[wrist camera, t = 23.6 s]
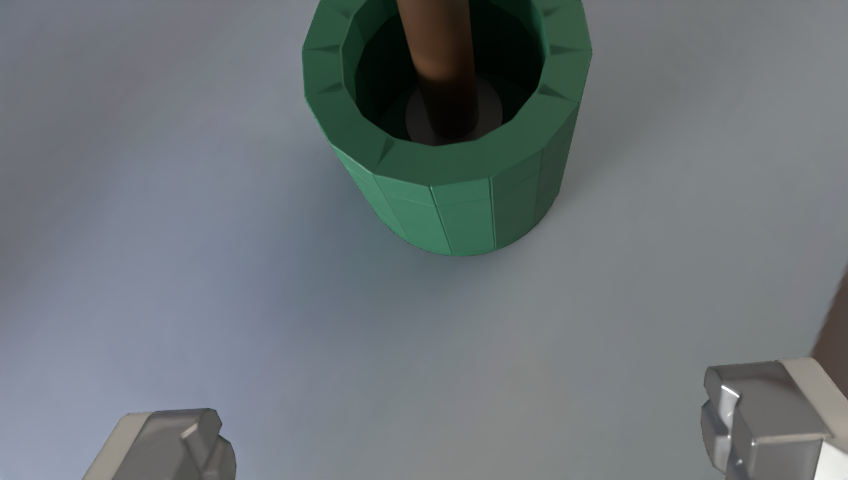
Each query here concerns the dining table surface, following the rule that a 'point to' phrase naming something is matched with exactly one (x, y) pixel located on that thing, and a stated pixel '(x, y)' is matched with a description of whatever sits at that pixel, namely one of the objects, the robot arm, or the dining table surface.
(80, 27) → the dining table surface
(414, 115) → the brown and grey rod
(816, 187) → the dining table surface
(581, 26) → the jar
